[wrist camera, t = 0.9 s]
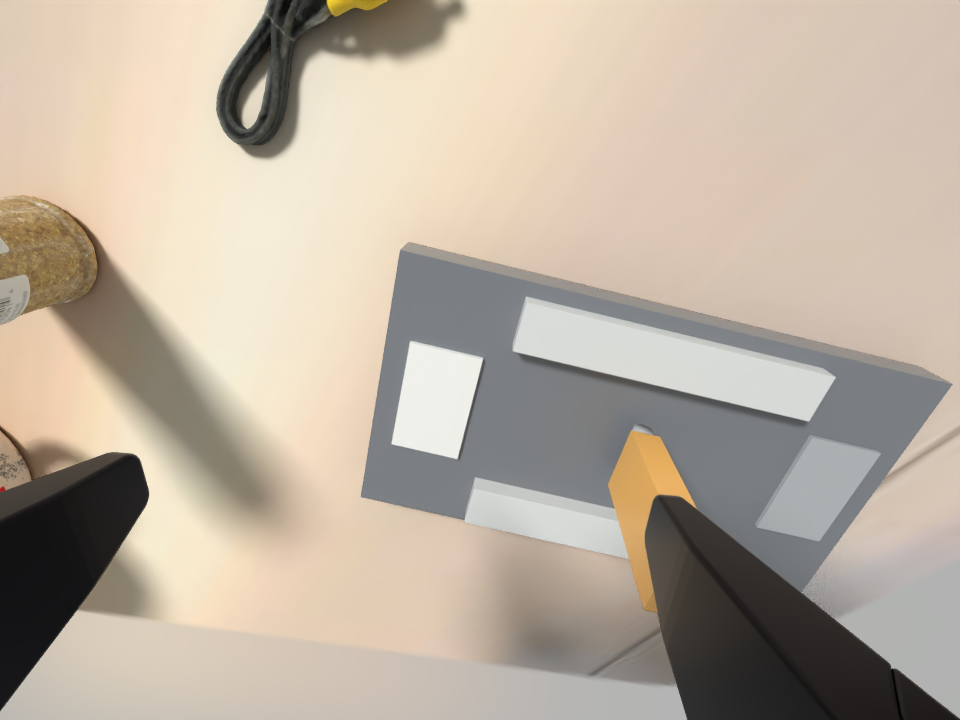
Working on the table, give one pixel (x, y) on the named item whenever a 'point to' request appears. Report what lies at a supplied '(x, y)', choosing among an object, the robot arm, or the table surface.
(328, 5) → the composite cable
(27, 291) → the sprinkles bottle
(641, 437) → the lever
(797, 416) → the base
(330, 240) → the table surface
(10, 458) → the teacup with lid
